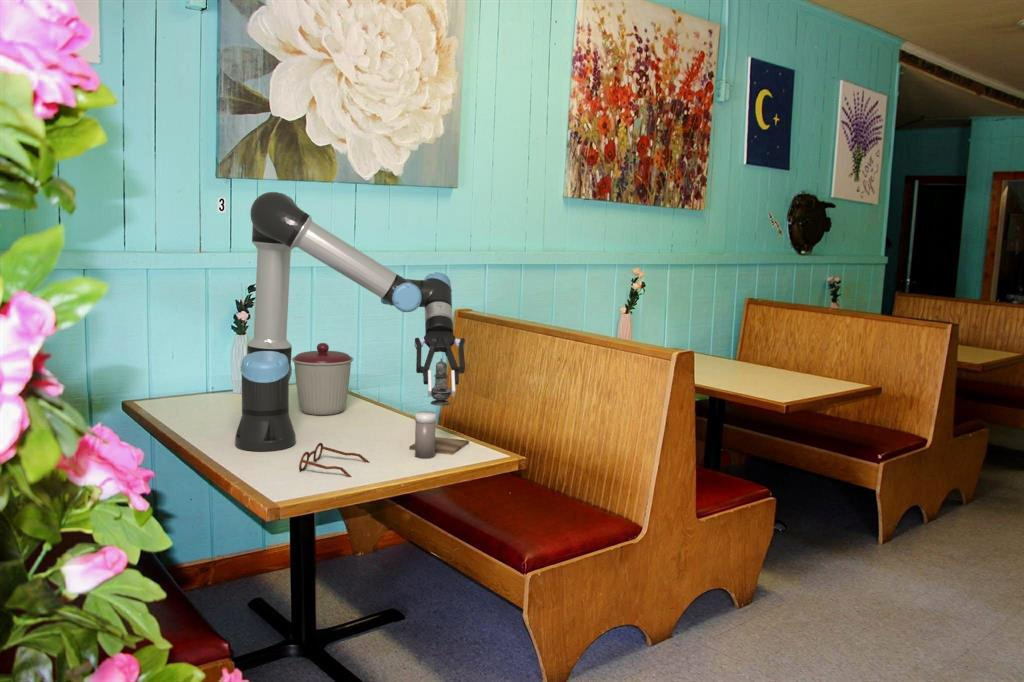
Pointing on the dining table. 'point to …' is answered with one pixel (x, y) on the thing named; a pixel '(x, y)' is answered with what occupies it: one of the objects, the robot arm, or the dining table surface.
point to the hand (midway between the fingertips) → (441, 393)
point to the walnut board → (446, 445)
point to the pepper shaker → (425, 434)
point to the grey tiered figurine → (441, 386)
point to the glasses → (320, 456)
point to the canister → (322, 380)
